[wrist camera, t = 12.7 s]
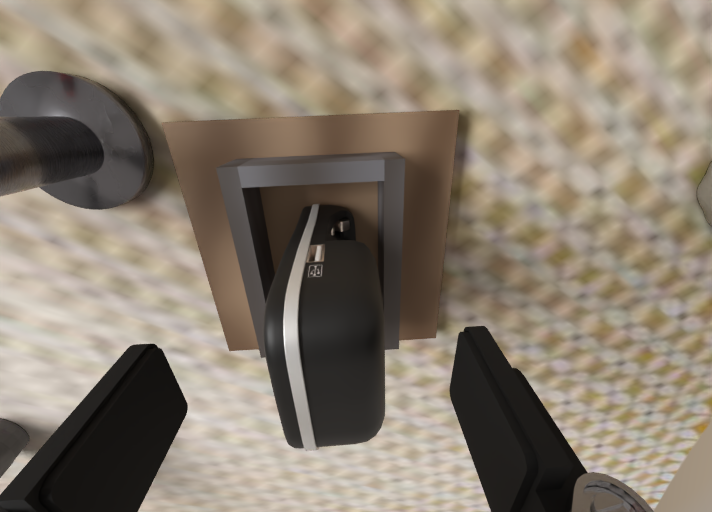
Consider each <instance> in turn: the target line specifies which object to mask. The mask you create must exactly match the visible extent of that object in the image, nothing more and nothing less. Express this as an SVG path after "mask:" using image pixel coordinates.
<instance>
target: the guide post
mask: <svg viewBox="0 0 712 512" xmlns="http://www.w3.org/2000/svg"><path fill="white" fill-rule="evenodd" d="M152 172H153V152H152V147H151V144H150V141H149V138H148V135H147V133H146V131H145V129H144V127H143V125H142V124H141V122H140V121H139V119H138V118H137V116H136V115H135V114H134V112H133V111H132V110H131V109H130V108H129V107H128V106H127V104H126V103H125V102H124V101H123V100H121V99H120V98H119V97H118V96H117V95H116V94H114V93H113V92H111V91H110V90H109V89H107V88H106V87H104V86H102V85H100V84H98V83H97V82H94V81H92V80H90V79H87V78H84V77H81V76H77V75H71V74H65V73H58V72H51V71H38V72H31V73H27V74H24V75H22V76H20V77H18V78H16V79H15V80H14V81H12V82H11V83H10V84H9V85H8V86H7V88H6V89H5V90H4V92H3V94H2V96H1V99H0V196H4V195H9V194H13V193H17V192H21V191H25V190H29V189H33V188H37V187H40V188H41V189H42V190H44V191H45V192H47V193H48V194H50V195H51V196H53V197H55V198H57V199H59V200H61V201H63V202H65V203H68V204H71V205H74V206H77V207H81V208H86V209H108V208H112V207H116V206H118V205H121V204H123V203H126V202H128V201H130V200H133V199H134V198H136V197H137V196H139V195H140V194H141V193H142V192H143V191H144V190H145V188H146V187H147V185H148V183H149V182H150V179H151V176H152Z"/></svg>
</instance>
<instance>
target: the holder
mask: <svg viewBox="0 0 712 512" xmlns="http://www.w3.org/2000/svg"><path fill="white" fill-rule="evenodd" d="M458 118H459V110H447V111H423V112H400V113H376V114H352V115H329V116H305V117H281V118H258V119H234V120H210V121H187V122H165V123H162V126H163V129H164V133H165V136H166V139H167V143H168V146H169V149H170V153H171V156H172V160H173V163H174V166H175V170H176V173H177V176H178V180H179V183H180V186H181V190H182V193H183V197H184V200H185V203H186V207H187V210H188V213H189V217H190V220H191V223H192V227H193V230H194V233H195V237H196V240H197V244H198V247H199V250H200V254H201V257H202V260H203V264H204V267H205V270H206V274H207V277H208V281H209V284H210V287H211V291H212V294H213V297H214V301H215V304H216V307H217V311H218V314H219V318H220V321H221V324H222V328H223V331H224V334H225V338H226V341H227V344H228V348H229V351H236V350H252V349H259V350H260V355H261V358H263V357H266V355H265V349H264V338H263V322H264V312H265V306H266V301H267V298H268V294H269V291H270V288H271V285H272V282H273V280H274V277H275V274H276V272H277V269H278V266H279V264H280V261H281V259H282V256H283V254H284V252H285V249H286V247H287V245H288V243H289V241H290V238H291V236H292V234H293V232H294V230H295V228H296V226H297V223H298V221H299V218H300V215H301V212H302V210H303V208H304V207H306V206H312V205H313V204H320V205H336V206H341V207H344V208H346V209H348V210H349V211H350V212H351V213H352V215H353V217H354V222H355V232H356V241H358V242H361V243H364V244H365V245H366V246H367V247H368V248H369V249H370V251H371V253H372V255H373V256H374V258H375V259H376V264H377V268H378V274H379V280H380V287H381V294H382V302H383V310H384V331H385V350H389V349H399V340H411V339H427V338H436V331H437V321H438V311H439V302H440V292H441V282H442V273H443V263H444V253H445V244H446V234H447V224H448V215H449V205H450V195H451V186H452V176H453V166H454V157H455V147H456V137H457V128H458Z"/></svg>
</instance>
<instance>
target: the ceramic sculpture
mask: <svg viewBox="0 0 712 512" xmlns="http://www.w3.org/2000/svg"><path fill="white" fill-rule="evenodd" d="M697 198H698V201H699V204H700V205H701V207H702V209H703V211H704V215H705V218H706V220H707V222H708V223H709V224H710V225H711V226H712V162H711V163H710V165H709V167H708V170H707V172H706V174H705V176H704V177H703V179H702V181H701V183H700V185H699V186H698V190H697Z"/></svg>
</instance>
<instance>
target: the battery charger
mask: <svg viewBox="0 0 712 512" xmlns="http://www.w3.org/2000/svg"><path fill="white" fill-rule="evenodd" d="M263 338H264V349H265V355H266V361H267V365H268V370H269V374H270V378H271V383H272V387H273V392H274V396H275V400H276V404H277V408H278V412H279V416H280V420H281V423H282V427H283V431H284V434H285V437H286V440H287V442H288V444H289V445H290V446H292V447H294V448H305V450H306V451H311V450H318V449H319V447H324V446H336V445H349V444H357V443H362V442H367V441H368V440H370V439H371V438H373V437H374V436H376V434H377V433H378V431H379V430H380V428H381V426H382V423H383V420H384V416H385V331H384V310H383V302H382V294H381V287H380V280H379V274H378V268H377V264H376V259H375V258H374V256H373V255H372V253H371V251H370V249H369V248H368V247H367V246H366V245H365V244H364V243H361V242H358V241H356V232H355V222H354V217H353V215H352V213H351V212H350V211H349V210H348V209H346V208H344V207H341V206H336V205H320V204H313V205H312V206H306V207H304V208H303V210H302V212H301V215H300V218H299V221H298V223H297V226H296V228H295V230H294V232H293V234H292V236H291V238H290V241H289V243H288V245H287V247H286V249H285V252H284V254H283V256H282V259H281V261H280V264H279V266H278V269H277V272H276V274H275V277H274V280H273V282H272V285H271V288H270V291H269V294H268V298H267V301H266V306H265V312H264V322H263Z"/></svg>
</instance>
